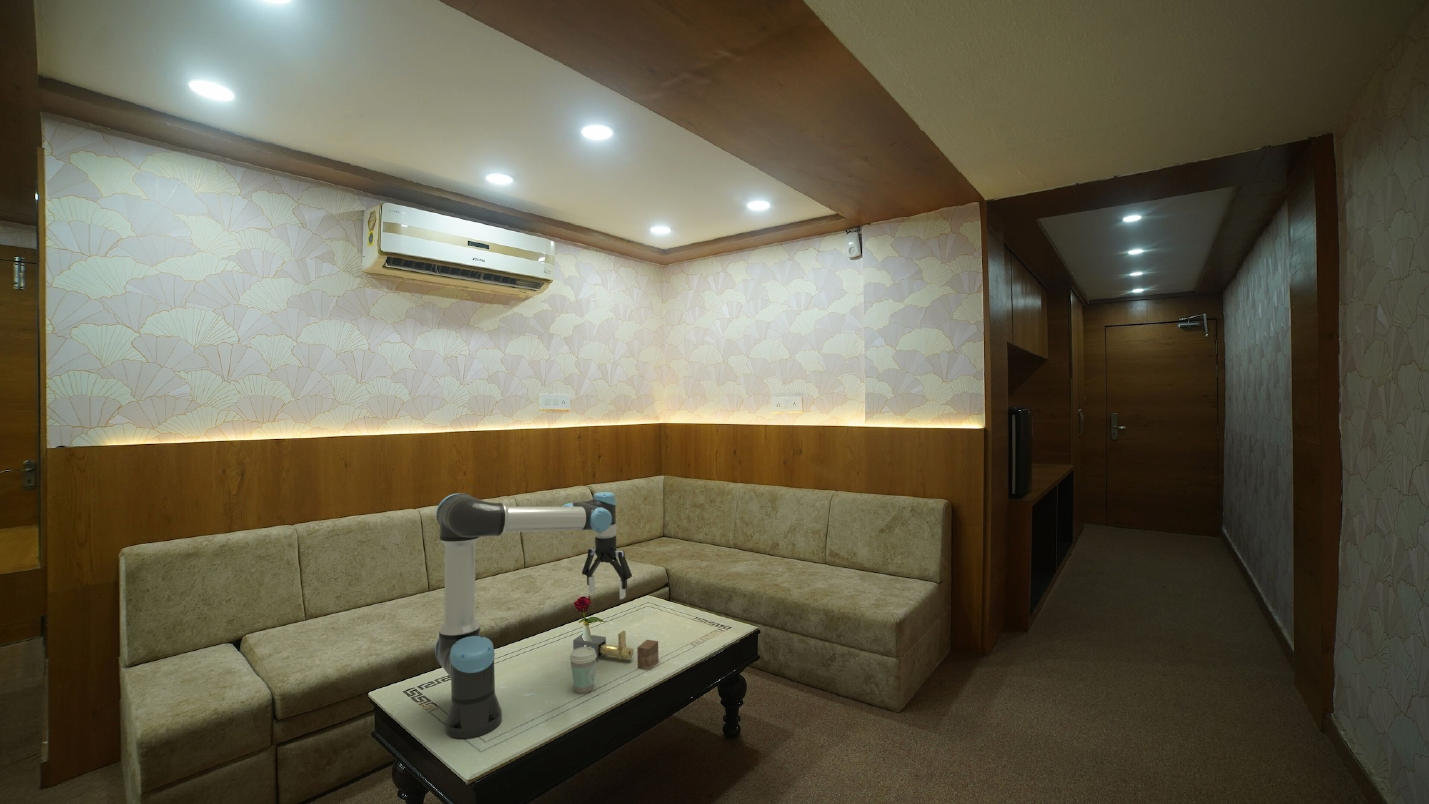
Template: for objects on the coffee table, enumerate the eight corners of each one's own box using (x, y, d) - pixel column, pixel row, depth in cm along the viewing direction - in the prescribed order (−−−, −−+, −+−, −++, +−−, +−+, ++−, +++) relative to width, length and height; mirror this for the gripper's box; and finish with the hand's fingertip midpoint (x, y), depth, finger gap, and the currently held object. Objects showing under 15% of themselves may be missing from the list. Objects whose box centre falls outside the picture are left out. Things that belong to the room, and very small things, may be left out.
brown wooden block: (637, 668, 206) (637, 647, 206) (647, 659, 213) (646, 639, 213) (649, 670, 205) (648, 649, 205) (658, 661, 211) (658, 641, 211)
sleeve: (573, 657, 216) (573, 640, 216) (583, 650, 222) (582, 633, 222) (597, 660, 213) (596, 643, 213) (606, 654, 218) (605, 637, 218)
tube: (573, 651, 218) (572, 627, 218) (578, 647, 221) (578, 624, 221) (628, 660, 210) (628, 635, 209) (633, 656, 213) (632, 632, 213)
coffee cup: (591, 696, 188) (590, 658, 187) (565, 694, 189) (564, 656, 189) (601, 683, 196) (600, 646, 196) (577, 681, 198) (576, 645, 197)
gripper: (570, 536, 215) (572, 596, 215) (630, 540, 206) (631, 603, 206) (582, 531, 222) (584, 589, 222) (640, 535, 213) (642, 596, 213)
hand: (607, 596), depth 214 cm, fingers open, 12 cm apart
